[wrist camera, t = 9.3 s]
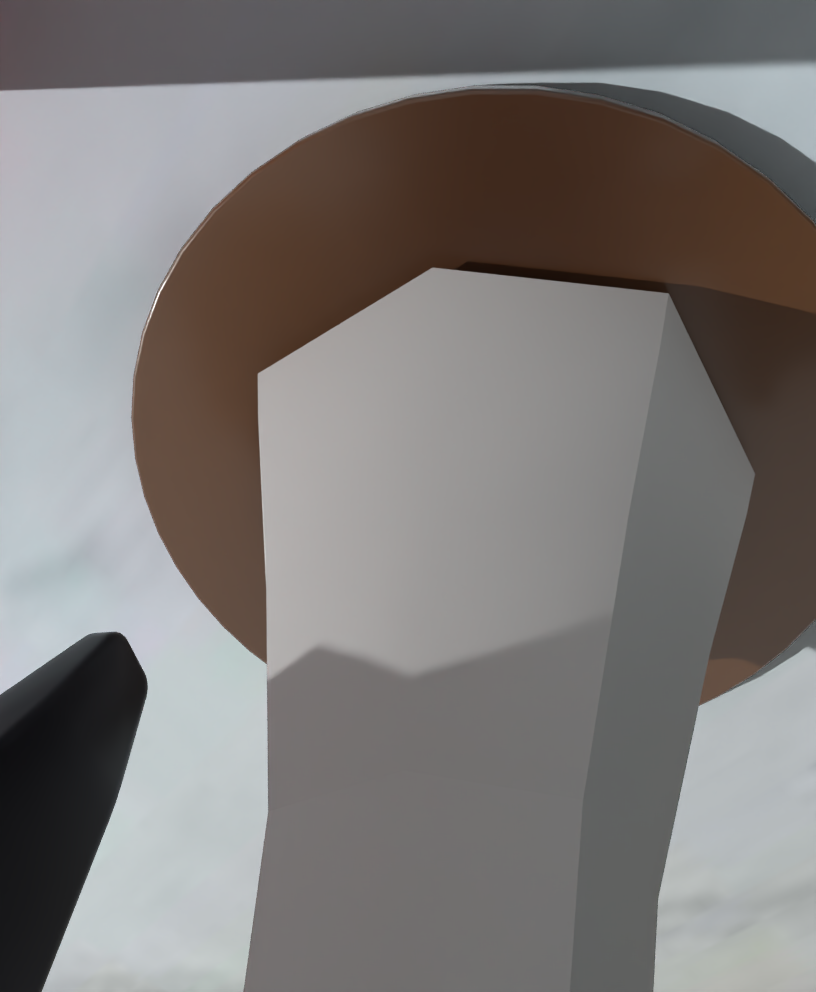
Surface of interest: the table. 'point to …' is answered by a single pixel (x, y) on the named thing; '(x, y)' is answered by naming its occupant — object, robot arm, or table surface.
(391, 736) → the flask
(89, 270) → the table surface
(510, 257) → the coaster
